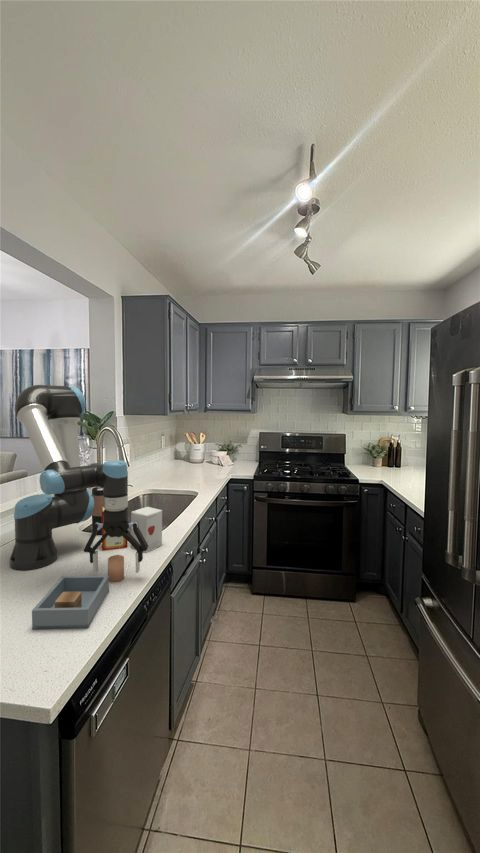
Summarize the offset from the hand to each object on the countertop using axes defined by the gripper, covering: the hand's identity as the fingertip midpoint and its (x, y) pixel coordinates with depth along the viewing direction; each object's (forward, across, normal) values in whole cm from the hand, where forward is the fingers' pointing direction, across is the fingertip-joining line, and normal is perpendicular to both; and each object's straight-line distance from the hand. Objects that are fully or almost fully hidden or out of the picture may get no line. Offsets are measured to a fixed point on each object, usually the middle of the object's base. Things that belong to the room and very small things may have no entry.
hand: (116, 571), depth 118 cm
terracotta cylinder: (+3, 0, 0) cm, 3 cm away
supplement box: (+2, +5, +26) cm, 27 cm away
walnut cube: (+2, -7, -21) cm, 22 cm away
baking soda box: (+2, -8, +27) cm, 29 cm away
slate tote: (+3, -7, -17) cm, 18 cm away
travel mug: (+2, -18, +42) cm, 46 cm away
